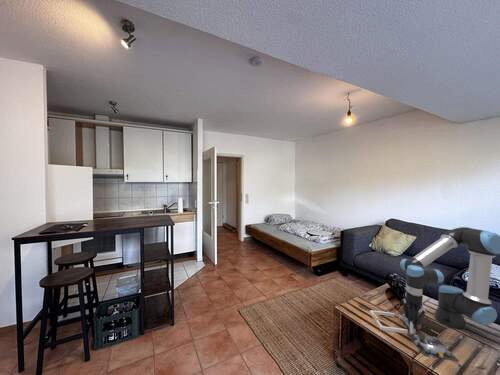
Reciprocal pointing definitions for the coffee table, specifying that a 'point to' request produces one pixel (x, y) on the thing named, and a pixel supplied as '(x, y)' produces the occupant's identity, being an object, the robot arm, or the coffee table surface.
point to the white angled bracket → (373, 314)
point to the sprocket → (431, 345)
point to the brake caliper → (408, 321)
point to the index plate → (432, 353)
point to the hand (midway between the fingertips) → (412, 332)
